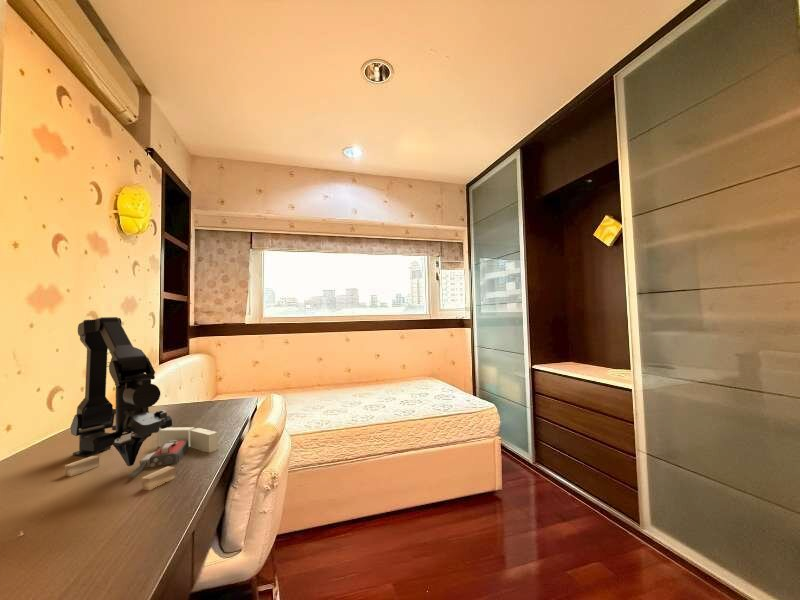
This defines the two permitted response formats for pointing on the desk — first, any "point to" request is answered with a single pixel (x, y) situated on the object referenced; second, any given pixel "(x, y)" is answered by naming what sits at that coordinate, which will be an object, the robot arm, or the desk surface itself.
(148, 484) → the guide blocks
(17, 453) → the desk surface
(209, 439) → the white long angled block
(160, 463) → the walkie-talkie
